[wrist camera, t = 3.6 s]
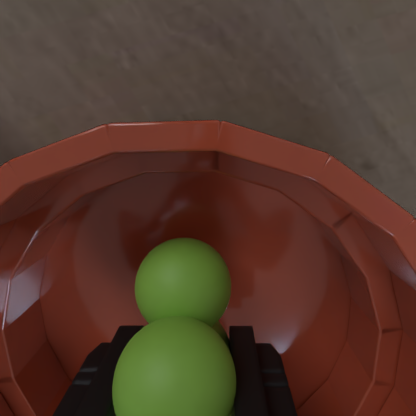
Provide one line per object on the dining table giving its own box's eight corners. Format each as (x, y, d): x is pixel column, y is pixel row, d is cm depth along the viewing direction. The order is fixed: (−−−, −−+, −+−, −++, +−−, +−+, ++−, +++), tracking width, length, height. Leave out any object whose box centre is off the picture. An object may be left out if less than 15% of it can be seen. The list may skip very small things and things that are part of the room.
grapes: (144, 226, 10) (28, 374, 4) (229, 225, 10) (249, 375, 4) (159, 409, 12) (98, 703, 6) (230, 410, 11) (245, 709, 6)
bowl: (-15, 131, 10) (-186, 129, 6) (399, 122, 10) (546, 111, 5) (47, 445, 14) (-32, 589, 9) (356, 450, 13) (425, 606, 9)
